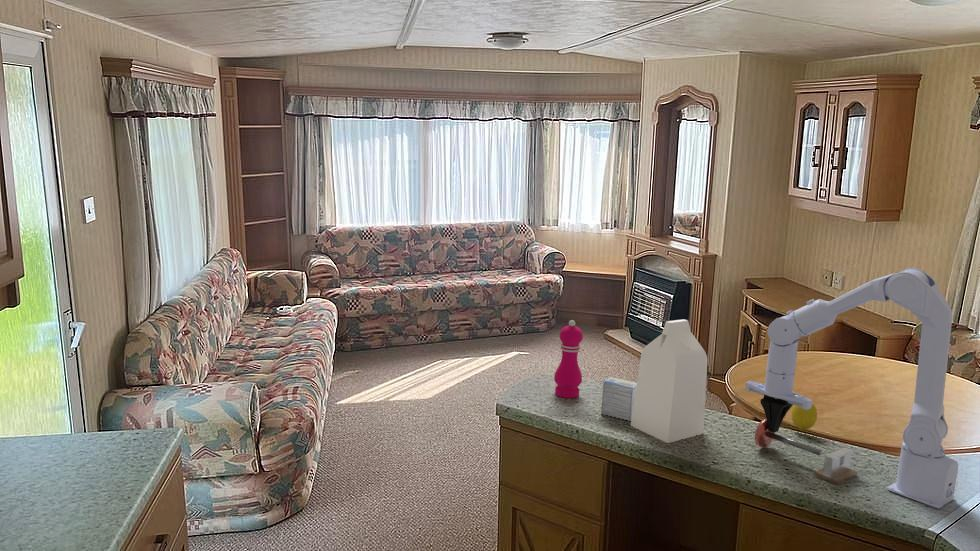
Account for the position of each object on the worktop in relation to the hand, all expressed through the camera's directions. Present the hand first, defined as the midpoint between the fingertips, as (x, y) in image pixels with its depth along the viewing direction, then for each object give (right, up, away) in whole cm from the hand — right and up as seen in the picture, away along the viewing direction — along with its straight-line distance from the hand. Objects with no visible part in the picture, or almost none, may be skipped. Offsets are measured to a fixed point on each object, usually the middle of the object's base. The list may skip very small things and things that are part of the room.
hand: (773, 431), depth 159 cm
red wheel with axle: (+2, -5, -2) cm, 6 cm away
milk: (-21, -2, +10) cm, 23 cm away
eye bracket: (+9, -7, -10) cm, 15 cm away
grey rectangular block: (-31, 0, +18) cm, 35 cm away
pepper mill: (-42, +3, +31) cm, 52 cm away
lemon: (+12, -3, +14) cm, 19 cm away
